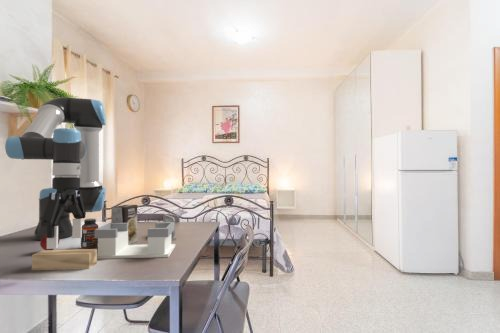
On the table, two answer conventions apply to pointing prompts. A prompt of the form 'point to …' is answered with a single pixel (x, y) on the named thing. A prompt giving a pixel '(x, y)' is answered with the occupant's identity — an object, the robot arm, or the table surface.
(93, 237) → the supplement bottle
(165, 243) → the bracket stand
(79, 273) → the table surface
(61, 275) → the table surface
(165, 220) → the handheld gaming console
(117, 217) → the coffee box
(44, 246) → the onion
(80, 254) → the rail
